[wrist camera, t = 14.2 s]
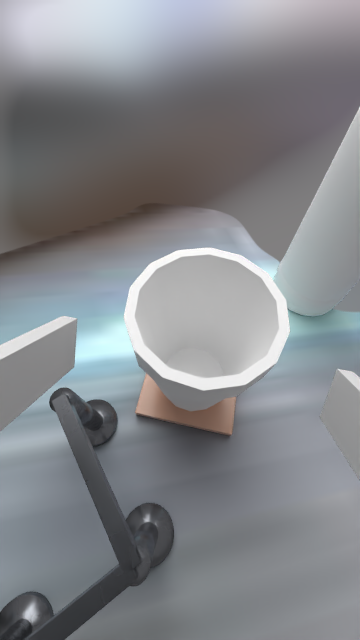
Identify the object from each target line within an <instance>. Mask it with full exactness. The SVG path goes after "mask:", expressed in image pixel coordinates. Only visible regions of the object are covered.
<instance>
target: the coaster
mask: <svg viewBox="0 0 360 640" xmlns="http://www.w3.org/2000/svg"><path fill="white" fill-rule="evenodd" d="M235 403H236V397H231V398H225V399H224V400H222V401H220V402H218V403H216V404H215V405H213V406H211V407H209V408H207V409H205V410H197V411H188V410H185V409H182V408H179V407H176V406H175V405H174V404H173V403H172V402H171V401H170V400H169V399H168V398H167V397H166V396H165V395H164V394H163V392H162V391H161V390H160V388H159V387H158V386H157V384H156V383H155V381H154V380H153V379H152V378H151V377H150V376H149V375H148V374H147V373H146V376H145V379H144V383H143V386H142V390H141V393H140V397H139V401H138V404H137V408H136V411H135V413H136V415H141V416H145V417H149V418H154V419H158V420H163V421H167V422H171V423H176V424H180V425H185V426H189V427H193V428H198V429H202V430H207V431H211V432H215V433H220V434H224V435H228V436H231V435H232V430H233V421H234V412H235Z"/></svg>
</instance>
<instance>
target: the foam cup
mask: <svg viewBox="0 0 360 640" xmlns="http://www.w3.org/2000/svg"><path fill="white" fill-rule="evenodd" d="M124 320H125V324H126V327H127V330H128V333H129V336H130V340H131V343H132V346H133V349H134V352H135V355H136V358H137V361H138V364H139V366H140V367H141V368H142V369H143V370H144V371H145V372H146V373H147V374H148V375H149V376H150V377H151V378H152V379H153V380H154V381H155V383H156V384H157V386H158V387H159V388H160V390H161V391H162V392H163V394H164V395H165V396H166V397H167V398H168V399H169V400H170V401H171V402H172V403H173V404H174V405H175V406H176V407H179V408H182V409H185V410H188V411H197V410H205V409H207V408H209V407H211V406H213V405H215V404H216V403H218V402H220V401H222V400H224V399H225V398H231V397H236V396H238V395H239V394H240V393H242V392H243V391H245V390H246V389H247V388H249V387H250V386H252V385H253V384H254V383H256V382H257V381H259V380H260V379H261V378H263V377H264V376H265V375H266V374H267V373H268V372H269V370H270V369H271V368H272V367H273V366H274V365H275V364H276V363H277V360H278V358H279V356H280V354H281V351H282V349H283V347H284V345H285V342H286V340H287V338H288V336H289V333H290V327H289V319H288V311H287V303H286V299H285V298H284V296H283V295H282V293H281V292H280V290H279V289H278V287H277V286H276V284H275V283H274V281H273V280H272V278H271V277H270V275H269V274H268V273H267V272H265V271H264V270H262V269H261V268H259V267H258V266H256V265H255V264H253V263H252V262H250V261H249V260H247V259H246V258H244V257H243V256H241V255H238V254H234V253H230V252H226V251H222V250H218V249H214V248H198V249H187V250H177V251H175V252H173V253H171V254H169V255H167V256H165V257H163V258H161V259H159V260H157V261H155V262H152V263H150V264H149V265H148V267H147V268H146V269H145V270H144V271H143V272H142V274H141V275H140V276H139V277H138V278H137V279H136V281H135V282H134V283H133V284H132V285H131V287H130V290H129V295H128V299H127V304H126V308H125V313H124Z"/></svg>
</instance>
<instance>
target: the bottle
mask: <svg viewBox="0 0 360 640" xmlns="http://www.w3.org/2000/svg"><path fill="white" fill-rule="evenodd" d="M359 280H360V107H359V110H358V112H357V113H356V116H355V118H354V119H353V122H352V124H351V125H350V127H349V129H348V132H347V134H346V135H345V137H344V139H343V141H342V143H341V145H340V147H339V149H338V151H337V153H336V155H335V157H334V159H333V161H332V163H331V165H330V167H329V169H328V171H327V173H326V175H325V177H324V179H323V181H322V183H321V185H320V187H319V189H318V191H317V193H316V195H315V197H314V199H313V201H312V203H311V205H310V207H309V209H308V211H307V213H306V215H305V217H304V219H303V221H302V223H301V225H300V227H299V229H298V231H297V233H296V235H295V237H294V238H293V241H292V242H291V244H290V246H289V248H288V250H287V252H286V254H285V257H284V258H283V259H282V261H281V262H280V264H279V266H278V269H277V272H276V274H275V276H274V280H273V281H274V283H275V284H276V286H277V287H278V289H279V290H280V292H281V293H282V295H283V296H284V298H285V299H286V303H287V308H288V309H289V310H291V311H293V312H296V313H298V314H300V315H306V316H318V315H324V314H325V313H327V312H329V311H330V310H332V309H333V308H334V307H335V306H336V305H337V304H338V303H340V302H341V301H342V300H343V299H344V298H345V296H346V294H347V293H348V292H349V291H350V290H351V289H352V288H353V287H354V286H355V285H356V284H357V282H358V281H359Z"/></svg>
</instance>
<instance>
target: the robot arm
mask: <svg viewBox="0 0 360 640" xmlns="http://www.w3.org/2000/svg"><path fill="white" fill-rule="evenodd" d="M76 331H77V318H72V317H67V316H62V317H59V318H57V319H55V320H53V321H51V322H49V323H47V324H44V325H42V326H40V327H38V328H36V329H34V330H32V331H29V332H27V333H25V334H23V335H21V336H19V337H17V338H14V339H12V340H10V341H8V342H6V343H4V344H2V345H0V431H2V430H3V429H4V428H5V427H6V426H7V425H8V424H10V423H11V422H12V421H13V420H14V419H15V418H16V417H18V416H19V415H20V414H21V413H22V412H23V411H24V410H26V409H27V408H28V407H29V406H30V405H31V404H32V403H34V402H35V401H36V400H37V399H38V398H39V397H40V396H42V395H43V394H44V393H45V392H46V391H47V390H48V389H50V388H51V387H52V386H53V385H54V384H55V383H56V382H58V381H59V380H60V379H61V378H62V377H63V376H64V375H66V374H67V373H68V372H69V371H70V370H71V369H72V368H74V363H75V347H76ZM320 418H321V420H322V422H323V423H324V425H325V426H326V428H327V430H328V431H329V433H330V434H331V436H332V438H333V439H334V441H335V442H336V444H337V445H338V447H339V449H340V450H341V452H342V453H343V455H344V457H345V458H346V460H347V461H348V463H349V464H350V466H351V468H352V469H353V471H354V472H355V474H356V476H357V477H358V479H359V480H360V378H359V377H358V376H357V375H356V374H355V373H354V372H351V371H346V370H341V369H337V370H336V373H335V375H334V378H333V381H332V384H331V387H330V390H329V392H328V395H327V398H326V401H325V404H324V407H323V410H322V412H321V415H320Z"/></svg>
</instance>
